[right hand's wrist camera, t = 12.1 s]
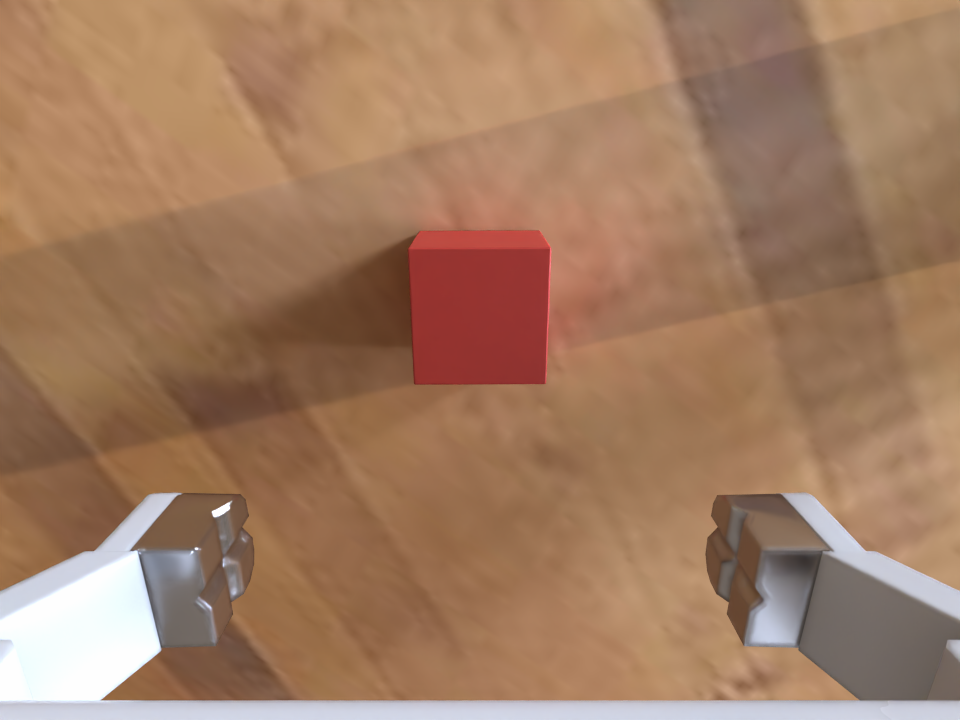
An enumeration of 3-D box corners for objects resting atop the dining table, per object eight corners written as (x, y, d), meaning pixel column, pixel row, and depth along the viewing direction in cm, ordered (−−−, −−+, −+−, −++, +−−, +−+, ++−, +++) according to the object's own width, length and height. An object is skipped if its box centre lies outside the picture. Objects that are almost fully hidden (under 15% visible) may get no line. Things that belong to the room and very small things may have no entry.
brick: (418, 230, 24) (407, 247, 20) (540, 230, 24) (551, 247, 20) (423, 348, 26) (413, 385, 22) (536, 348, 26) (546, 384, 22)
